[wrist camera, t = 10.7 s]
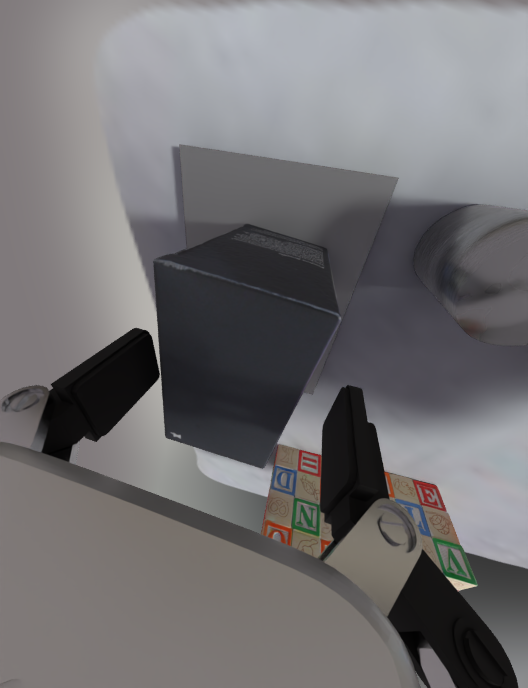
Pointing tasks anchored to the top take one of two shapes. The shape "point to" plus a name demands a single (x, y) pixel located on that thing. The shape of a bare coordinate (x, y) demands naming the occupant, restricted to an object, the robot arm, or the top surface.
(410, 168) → the top surface
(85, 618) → the robot arm
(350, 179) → the slate board
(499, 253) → the metallic grey egg
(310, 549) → the stack of blocks
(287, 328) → the small box
